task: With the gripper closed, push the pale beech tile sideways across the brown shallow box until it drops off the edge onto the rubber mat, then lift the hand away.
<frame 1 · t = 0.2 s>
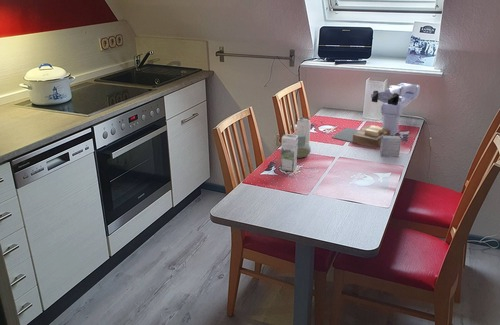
hand: (380, 100, 212), 21 cm above the table, tool horizontal, fingers open, 7 cm apart
syrup box: (288, 169, 192), on the table
medicine box: (389, 155, 206), on the table
air freshener: (297, 156, 205), on the table
can: (302, 143, 219), on the table
brown shallow box: (371, 139, 224), on the table
mat: (349, 135, 230), on the table
tile: (374, 132, 222), point 4 cm above the table, touching brown shallow box
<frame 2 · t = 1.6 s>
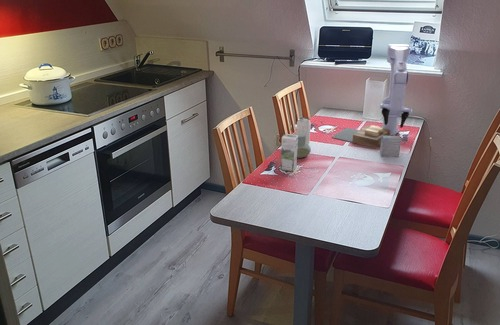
hand: (393, 125, 215), 9 cm above the table, tool pointing down, fingers open, 7 cm apart
nothing on the table moved.
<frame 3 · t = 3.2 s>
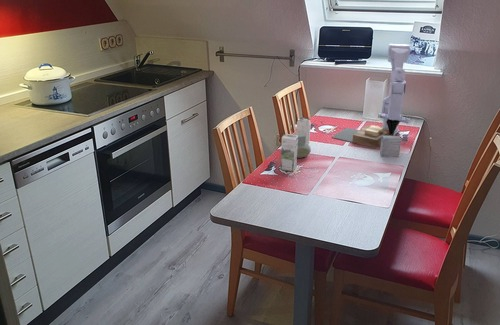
hand: (391, 134, 217), 5 cm above the table, tool pointing down, fingers closed
nothing on the table moved.
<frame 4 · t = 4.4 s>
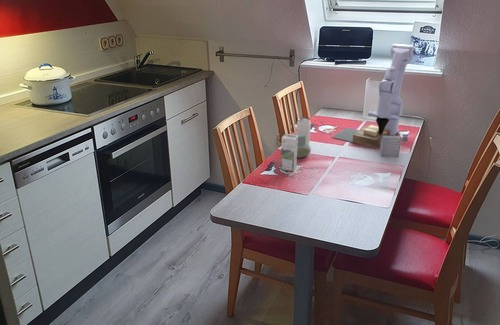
hand: (381, 132, 220), 5 cm above the table, tool pointing down, fingers closed
tile: (372, 132, 222), point 4 cm above the table, touching brown shallow box, gripper
everything else where it was.
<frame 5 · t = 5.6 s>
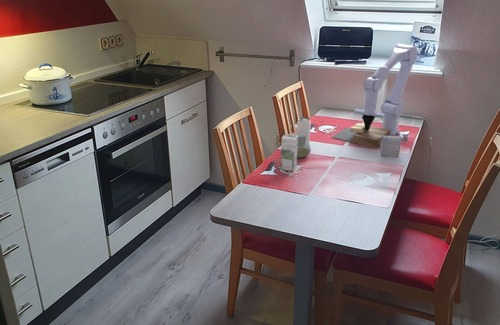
hand: (367, 129, 224), 5 cm above the table, tool pointing down, fingers closed
tile: (359, 129, 226), point 4 cm above the table, tilted 8°, touching brown shallow box, gripper
everything else where it was.
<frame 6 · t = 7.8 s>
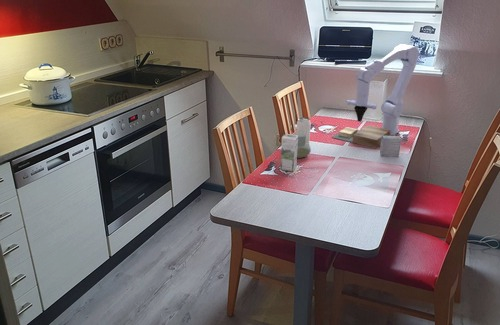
hand: (359, 120, 225), 8 cm above the table, tool pointing down, fingers closed
tile: (348, 130, 230), point 2 cm above the table, tilted 180°, touching mat
everything else where it was.
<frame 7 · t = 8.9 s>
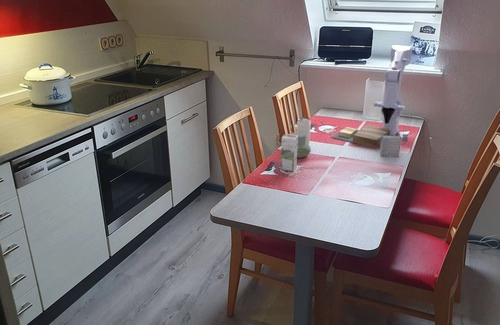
hand: (386, 123, 219), 9 cm above the table, tool pointing down, fingers closed
nothing on the table moved.
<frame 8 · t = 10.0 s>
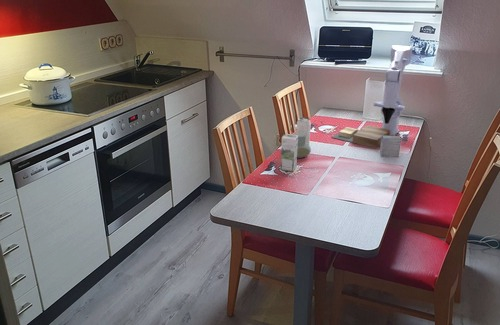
hand: (386, 123, 219), 9 cm above the table, tool pointing down, fingers closed
nothing on the table moved.
at the end: tile point 2.4 cm above the table; tile inside the target area (0.5 cm from its centre), point 2.4 cm above the table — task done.
